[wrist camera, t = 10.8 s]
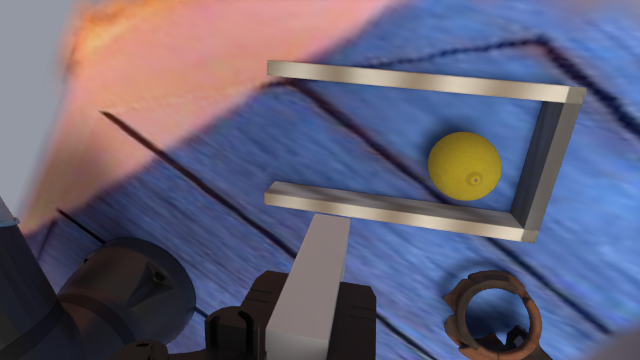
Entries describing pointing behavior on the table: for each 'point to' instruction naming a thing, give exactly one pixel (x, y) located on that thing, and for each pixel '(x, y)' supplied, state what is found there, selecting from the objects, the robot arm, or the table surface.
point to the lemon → (464, 166)
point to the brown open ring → (489, 352)
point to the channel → (515, 225)
